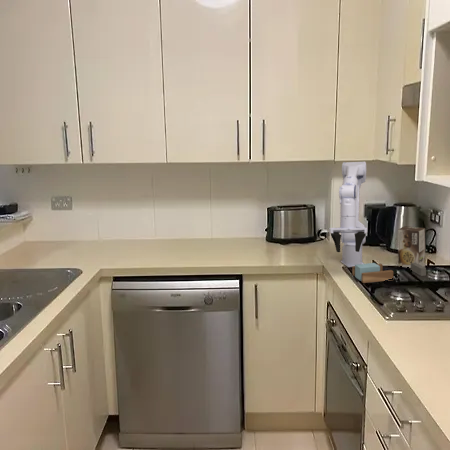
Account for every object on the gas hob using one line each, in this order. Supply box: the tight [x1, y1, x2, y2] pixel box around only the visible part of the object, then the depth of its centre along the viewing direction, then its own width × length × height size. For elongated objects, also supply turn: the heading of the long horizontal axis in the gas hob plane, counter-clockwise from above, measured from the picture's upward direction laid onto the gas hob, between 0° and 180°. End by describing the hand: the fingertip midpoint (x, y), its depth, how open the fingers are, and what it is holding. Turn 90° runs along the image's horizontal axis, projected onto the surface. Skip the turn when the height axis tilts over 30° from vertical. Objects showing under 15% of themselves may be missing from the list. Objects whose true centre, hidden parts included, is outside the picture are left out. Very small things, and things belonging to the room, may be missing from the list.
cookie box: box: [397, 225, 426, 269], centre depth 195 cm, size 9×6×16 cm
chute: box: [351, 263, 394, 284], centre depth 185 cm, size 11×12×4 cm
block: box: [354, 262, 380, 282], centre depth 185 cm, size 5×8×5 cm, turn 97°
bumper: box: [410, 263, 427, 277], centre depth 188 cm, size 8×2×3 cm, turn 7°
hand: (347, 251), depth 182 cm, fingers open, 7 cm apart
